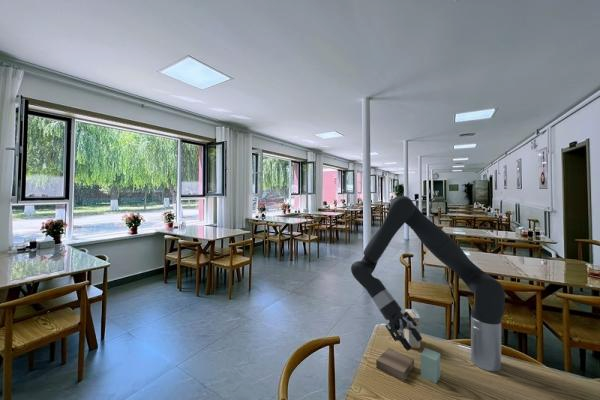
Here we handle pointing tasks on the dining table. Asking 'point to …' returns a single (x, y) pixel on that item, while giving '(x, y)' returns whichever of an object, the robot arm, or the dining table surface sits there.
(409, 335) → the supplement box
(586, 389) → the dining table surface
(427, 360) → the sage block
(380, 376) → the dining table surface
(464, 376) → the dining table surface
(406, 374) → the walnut plinth
